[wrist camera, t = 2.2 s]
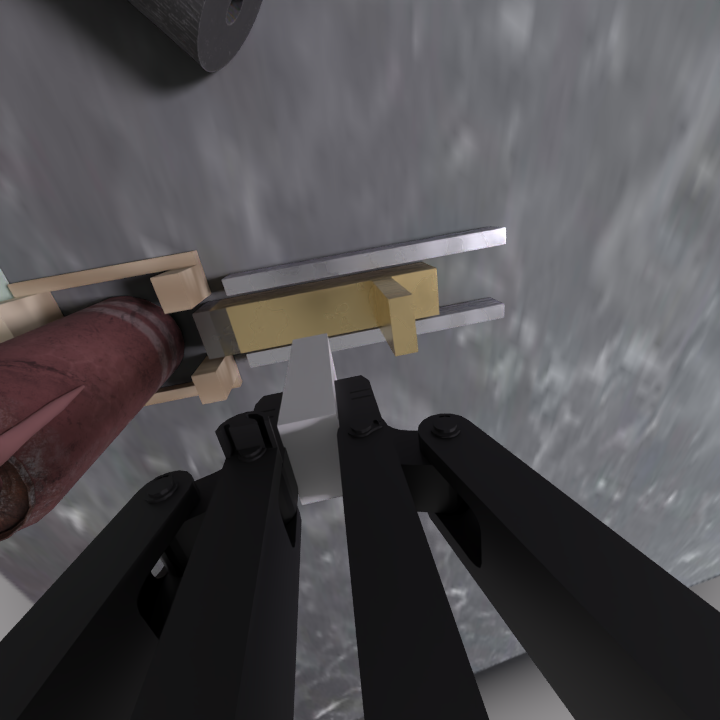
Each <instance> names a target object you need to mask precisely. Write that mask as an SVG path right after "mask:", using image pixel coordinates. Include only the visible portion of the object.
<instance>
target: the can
mask: <svg viewBox="0 0 720 720" xmlns="http://www.w3.org/2000/svg"><path fill="white" fill-rule="evenodd" d="M184 345H185V344H184V340H183V336H182V333H181V330H180V328H179V327H178V325H177V324H176V322H175V321H174V319H173V318H172V317H171V316H170V315H169V314H168V313H167V314H165V313H164V311H163V309H162V308H161V307H159V306H157V305H155V304H153V303H151V302H149V301H147V300H145V299H141V298H136V297H132V296H119V297H111V298H109V299H106V300H104V301H102V302H99V303H97V304H94V305H92V306H89V307H87V308H85V309H82V310H80V311H77V312H75V313H72V314H70V315H68V316H65V317H63V318H60V319H58V320H56V321H53V322H51V323H48V324H46V325H43V326H41V327H39V328H36V329H34V330H31V331H29V332H26V333H24V334H22V335H19V336H17V337H14V338H12V339H9V340H7V341H5V342H2V343H0V541H2V540H5V539H7V538H9V537H11V536H12V535H13V534H14V533H15V532H17V531H19V530H21V529H23V528H25V527H28V526H30V525H32V524H34V523H37V522H38V521H39V520H40V519H42V518H43V517H44V516H45V515H46V514H47V513H49V512H50V511H51V510H52V509H53V508H54V507H55V506H56V505H57V504H58V503H59V502H60V500H61V499H62V498H63V497H64V496H65V495H66V494H67V493H68V491H69V490H70V489H71V488H72V487H73V486H74V485H75V483H76V482H77V481H78V480H79V479H80V478H81V477H82V476H83V474H84V473H85V472H86V471H87V470H88V469H89V468H90V466H91V465H92V464H93V463H94V462H95V461H96V460H97V459H98V457H99V456H100V455H101V454H102V453H103V452H104V451H105V449H106V448H107V447H108V446H109V445H110V444H111V443H112V442H113V440H114V439H115V438H116V437H117V436H118V435H119V434H120V432H121V431H122V430H123V429H124V428H125V427H126V426H127V425H128V423H129V422H130V421H131V420H132V419H133V418H134V417H135V415H136V414H137V413H138V412H139V411H140V410H141V409H142V408H143V406H144V405H145V404H146V403H147V402H148V401H149V400H150V398H151V397H152V396H153V395H154V394H155V393H156V392H157V390H158V389H159V388H160V387H161V386H162V385H163V384H164V383H165V381H166V380H167V379H168V378H169V377H170V376H171V375H172V373H173V372H174V371H175V370H176V369H177V368H178V366H179V364H180V362H181V360H182V358H183V356H184Z"/></svg>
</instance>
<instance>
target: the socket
mask: <svg viewBox="0 0 720 720" xmlns="http://www.w3.org/2000/svg"><path fill="white" fill-rule="evenodd" d="M171 269H172V270H171ZM166 270H170V271H167V272H164V273H162V274H159V275H157V276H154V277H152V278H150V280H151V282H152V285H153V287H154V289H155V292H156V294H157V296H158V299H159V301H160V304H161V306H162V308H163V311H164V313H165V314H167V313H172V312H178V311H183V310H188V309H192V308H194V307H195V306H196V305H197V304H199V303H200V302H201V301H203V300H204V299H205V298H206V297H208V296H209V295H210V294H211V291H210V288H209V285H208V282H207V279H206V276H205V274H204V271H203V268H202V265H201V262H200V259H199V256H198V253H197V251H190V252H184V253H179V254H173V255H168V256H162V257H156V258H151V259H145V260H140V261H134V262H128V263H123V264H117V265H112V266H106V267H101V268H95V269H89V270H84V271H78V272H73V273H67V274H61V275H56V276H50V277H45V278H39V279H33V280H28V281H22V282H17V283H13V284H8V285H7V286H8V287H9V289H10V291H11V292H12V294H13V296H14V297H15V298H12V299H9V300H5V301H2V302H0V343H2V342H5V341H7V340H9V339H12V338H14V337H17V336H19V335H22V334H24V333H26V332H29V331H31V330H34V329H36V328H39V327H41V326H43V325H46V324H48V323H51V322H53V321H56V320H58V319H60V318H63V317H64V316H63V314H62V312H61V310H60V309H59V307H58V305H57V303H56V301H55V299H54V298H53V296H52V294H51V292H50V291H55V290H61V289H66V288H72V287H77V286H83V285H89V284H94V283H100V282H105V281H111V280H116V279H122V278H127V277H133V276H138V275H144V274H149V273H155V272H160V271H166ZM191 378H192V380H193V382H189V383H184V384H179V385H174V386H169V387H164V388H159V389H158V390H157V392H156V393H155V394H154V395H153V396H152V397H151V398H150V400H149V401H148V402H147V403H146V404H145V405H144V406H147V405H152V404H157V403H162V402H167V401H172V400H177V399H182V398H187V397H192V396H197V395H199V397H200V399H201V402H202V404H207V403H212V402H217V401H222V400H226V399H227V397H228V395H229V393H230V391H231V389H232V388H237V387H240V386H241V384H242V380H241V377H240V374H239V371H238V368H237V365H236V362H235V360H234V357H233V355H230V356H225V357H220V358H215V359H210V360H209V357H208V355H207V356H206V357H205V359H204V360H203V361H202V363H201V364H200V365H199V367H198V368H197V369H196V371H195V372H194V373H193V375H192V376H191Z"/></svg>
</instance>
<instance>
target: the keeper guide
mask: <svg viewBox="0 0 720 720" xmlns="http://www.w3.org/2000/svg"><path fill="white" fill-rule="evenodd" d="M503 244H506V227H491V226H490V227H485V228H480V229H474V230H469V231H463V232H458V233H452V234H447V235H441V236H436V237H431V238H425V239H420V240H414V241H409V242H403V243H398V244H392V245H387V246H381V247H376V248H371V249H365V250H360V251H354V252H349V253H343V254H338V255H332V256H327V257H321V258H316V259H311V260H305V261H300V262H294V263H289V264H283V265H278V266H272V267H267V268H261V269H256V270H251V271H245V272H240V273H234V274H229V275H228V276H226V277H225V278H223V279H222V283H223V286H224V289H225V292H226V295H227V296H229V295H235V294H240V293H245V292H251V291H256V290H262V289H267V288H272V287H278V286H283V285H288V284H294V283H299V282H304V281H310V280H315V279H320V278H326V277H331V276H337V275H342V274H347V273H353V272H358V271H363V270H369V269H374V268H379V267H385V266H390V265H395V264H401V263H406V262H412V261H417V260H422V259H428V258H433V257H438V256H444V255H449V254H454V253H460V252H465V251H470V250H476V249H481V248H487V247H492V246H497V245H503ZM499 318H504V303H502V302H500V301H497V300H495V299H493V298H491V297H490V298H484V299H479V300H474V301H469V302H464V303H459V304H454V305H449V306H443V307H439V315H434V316H429V317H424V318H419V319H415V324H416V334H417V335H418V334H423V333H428V332H434V331H439V330H444V329H449V328H454V327H459V326H464V325H469V324H474V323H479V322H484V321H489V320H494V319H499ZM328 340H329V345H330V349H331V352H333V351H338V350H343V349H348V348H353V347H358V346H363V345H368V344H373V343H378V342H383V341H386V339H385V337H384V336H383V334H382V332H381V331H380V329H379V327H373V328H368V329H363V330H358V331H353V332H348V333H342V334H337V335H332V336H328ZM291 347H292V343H291V344H286V345H281V346H276V347H271V348H266V349H261V350H256V351H251V352H247V354H246V355H247V358H248V361H249V364H250V367H251V368H252V367H257V366H262V365H267V364H272V363H277V362H282V361H287V360H289V358H290V352H291Z"/></svg>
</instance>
